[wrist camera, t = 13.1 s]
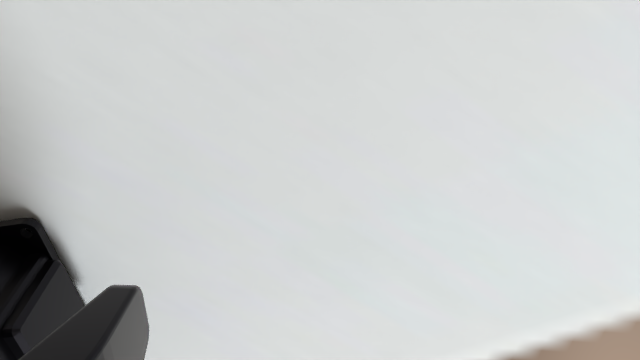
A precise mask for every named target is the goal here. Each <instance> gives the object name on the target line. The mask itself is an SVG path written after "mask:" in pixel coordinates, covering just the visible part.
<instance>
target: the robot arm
mask: <svg viewBox="0 0 640 360" xmlns="http://www.w3.org/2000/svg"><path fill="white" fill-rule="evenodd" d="M25 228H26V229H29V230H30V231H31V232H28V231H27V230H26V229H25ZM148 339H149V324H148V319H147V313H146V308H145V303H144V298H143V293H142V291H141V289H140V287H138V286H136V285H112V286H110V287H108V288H107V289H105V290H104V291H103V292H102V293H100V294H99V295H98V296H97V297H95V298H94V299H93V300H92V301H90V302H89V303H88V304H87V305H85V306H84V305H83V302H82V300H81V298H80V296H79V294H78V292H77V290H76V288H75V286H74V285H73V283H72V281H71V279H70V277H69V275H68V273H67V271H66V269H65V267H64V266H63V264H62V263H61V261H60V259H59V257H58V256H57V254H56V252H55V250H54V248H53V246H52V244H51V242H50V240H49V238H48V237H47V235H46V233H45V231H44V229H43V227H42V226H41V224H40V223H39V222H38V221H36V220H34V219H31V218H22V219H15V220H8V221H1V222H0V360H144V358H145V353H146V349H147V344H148Z"/></svg>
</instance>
